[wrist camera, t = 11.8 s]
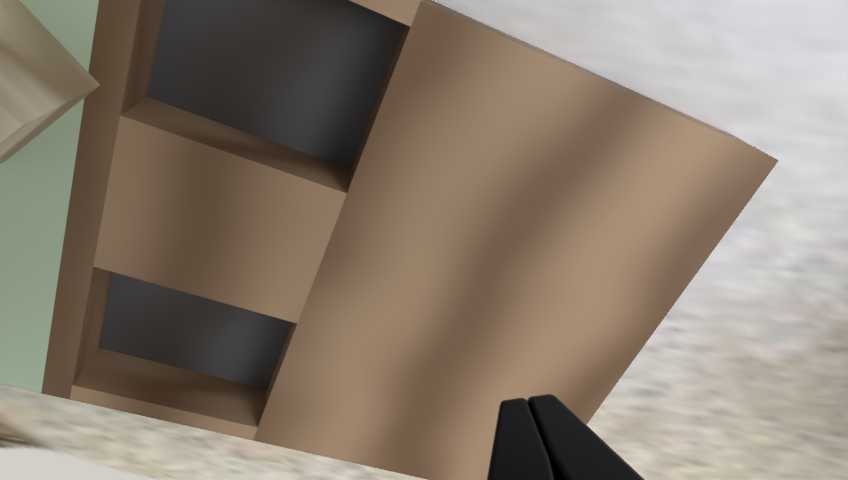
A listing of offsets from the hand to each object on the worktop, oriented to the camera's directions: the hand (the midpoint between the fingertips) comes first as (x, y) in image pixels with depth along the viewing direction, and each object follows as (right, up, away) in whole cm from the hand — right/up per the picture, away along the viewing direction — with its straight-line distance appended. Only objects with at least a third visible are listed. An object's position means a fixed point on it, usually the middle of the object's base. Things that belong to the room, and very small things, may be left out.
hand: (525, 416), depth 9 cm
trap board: (-3, +2, +13) cm, 14 cm away
